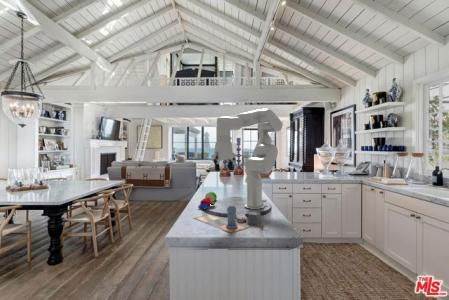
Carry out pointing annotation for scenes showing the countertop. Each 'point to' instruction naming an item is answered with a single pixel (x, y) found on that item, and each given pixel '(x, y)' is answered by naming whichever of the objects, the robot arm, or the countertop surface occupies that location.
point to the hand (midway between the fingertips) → (224, 170)
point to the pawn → (231, 217)
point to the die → (254, 218)
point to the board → (219, 223)
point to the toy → (208, 200)
